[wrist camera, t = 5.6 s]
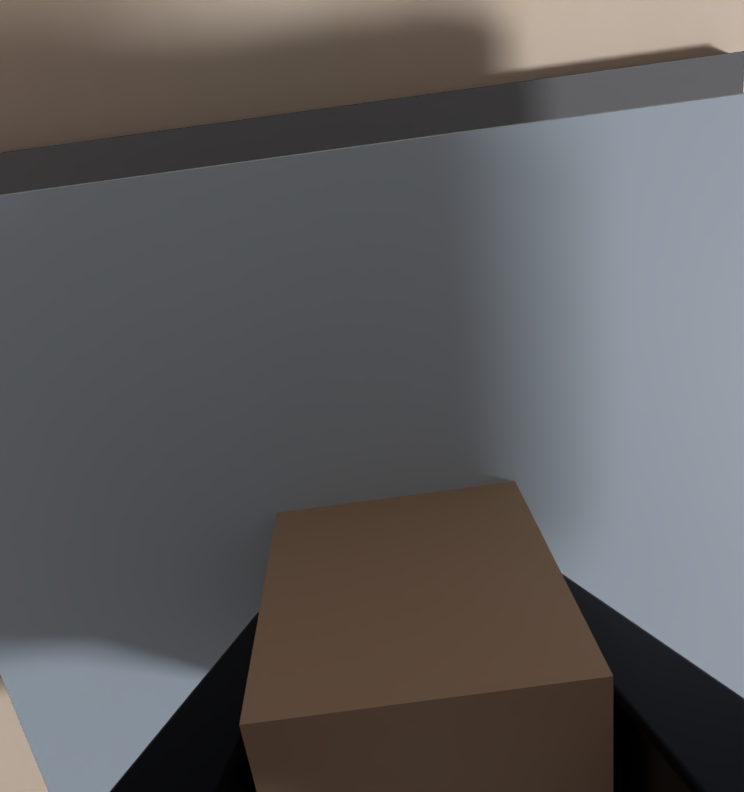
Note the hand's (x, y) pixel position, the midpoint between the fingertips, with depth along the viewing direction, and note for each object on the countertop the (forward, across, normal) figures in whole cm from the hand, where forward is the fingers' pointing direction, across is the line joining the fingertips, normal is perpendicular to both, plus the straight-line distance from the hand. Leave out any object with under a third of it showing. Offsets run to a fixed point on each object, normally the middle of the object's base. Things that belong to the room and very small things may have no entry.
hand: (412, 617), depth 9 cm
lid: (+2, 0, 0) cm, 2 cm away
